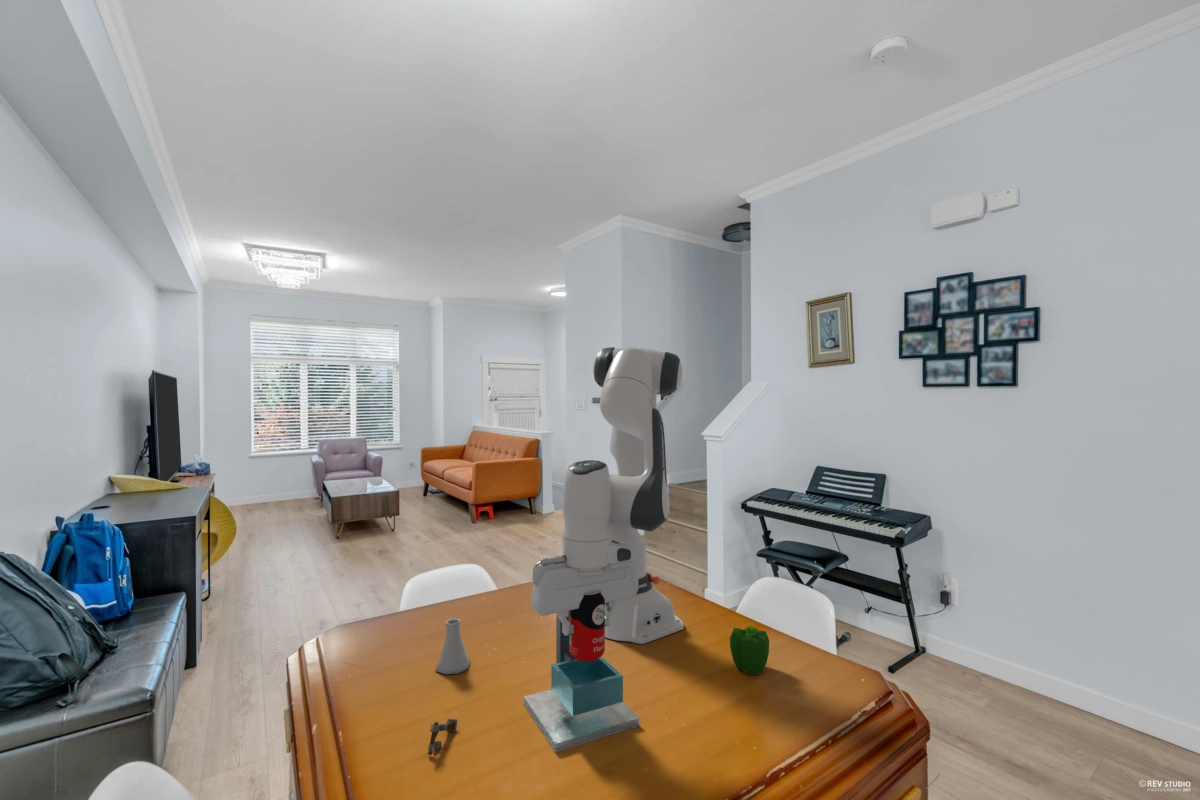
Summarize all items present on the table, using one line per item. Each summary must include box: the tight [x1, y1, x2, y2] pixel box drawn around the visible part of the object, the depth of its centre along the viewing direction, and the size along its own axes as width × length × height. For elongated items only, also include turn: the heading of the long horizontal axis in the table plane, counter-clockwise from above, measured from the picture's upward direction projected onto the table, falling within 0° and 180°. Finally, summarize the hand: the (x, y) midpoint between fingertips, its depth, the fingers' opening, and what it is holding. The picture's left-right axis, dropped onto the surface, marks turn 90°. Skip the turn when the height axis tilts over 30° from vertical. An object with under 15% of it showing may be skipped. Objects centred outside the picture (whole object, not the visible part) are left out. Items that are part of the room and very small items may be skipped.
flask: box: [435, 618, 471, 675], centre depth 116 cm, size 7×7×10 cm
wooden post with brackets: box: [427, 718, 458, 756], centre depth 89 cm, size 2×8×4 cm, turn 169°
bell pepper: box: [729, 624, 770, 675], centre depth 115 cm, size 8×8×10 cm
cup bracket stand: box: [523, 610, 640, 754], centre depth 98 cm, size 16×16×20 cm
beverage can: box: [570, 590, 606, 662], centre depth 95 cm, size 6×6×12 cm
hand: (586, 629), depth 95 cm, fingers closed on beverage can, 6 cm apart
